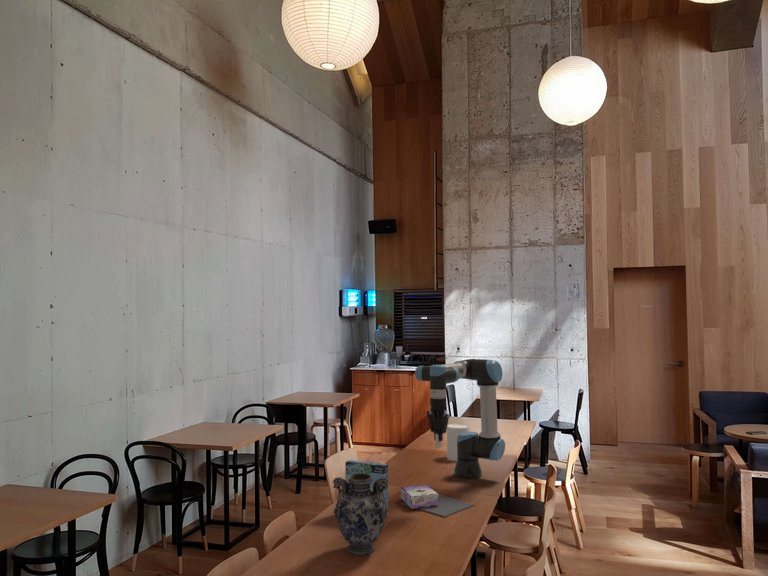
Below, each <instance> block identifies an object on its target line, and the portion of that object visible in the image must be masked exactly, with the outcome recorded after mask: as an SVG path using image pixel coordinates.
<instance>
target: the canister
mask: <svg viewBox="0 0 768 576" xmlns="http://www.w3.org/2000/svg"><path fill="white" fill-rule="evenodd" d="M469 427H470V426H469V425H468V424H463V423H451V424H448V425H447V430H446V460H447V461H450V460H451V462H457V437H458V435H459V434H461V433H466V432H470V428H469Z"/></svg>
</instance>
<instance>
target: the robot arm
mask: <svg viewBox="0 0 768 576" xmlns="http://www.w3.org/2000/svg"><path fill="white" fill-rule="evenodd" d="M503 373H504V372H503V367H502V365H501V363H500V362H499V361H498V360H494V359H486V358H482V359H481V358H470V359H464V360H463V359H462V360H461V359H460V360H457V361H454V362H453V363H445V364H432V365H418V366H416V368H415V371H414V375H415V379H416V380H417V381H420V382H429V384H430V385H429V386H430V387H429V391H430V393H429V396H430V399H429V405H430V408H429V410H426V412H425V413H426V416H427V418H428V423H429V427H430V428H429V429H430V432H431V433H433V434H434V435H433V436H434V441H435V449H441V448H442V446H443V445H442V442H443V435H444V434H447V425H449V424H448V423H449V419H450V417H451V414H450V413H448V412H447V409H446V406H447V398H446V397H447V384H451V383H452V384H453V383H455V382H457V381H459V380H460V379H462V380H463V379H465V380H470V381H476V385H477V387H479V398H480V399H479V400H480V402H479V403H480V426H481V428H480V429H481V431H480V432H479V433H478V432H476V431H469V432H466V433H461V434H459V435H458V437H457V461H456V463H455V468H454V470H453V472H454V476H455V477H457V478H461V479H478V478H481V477H482V475H483V471H482V468H481V465H480V462H479V459H484V460H489V461H496V462H497V461H500V460H501V459H502V458H503V456H504V454H505V450H506V442H505V440H504V439H503V438H501V433H500V432H499V431H498V407H497V387H498V386H499V385H500V382H501V381H502V380H503V379H502V378H503V375H504V374H503Z"/></svg>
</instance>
